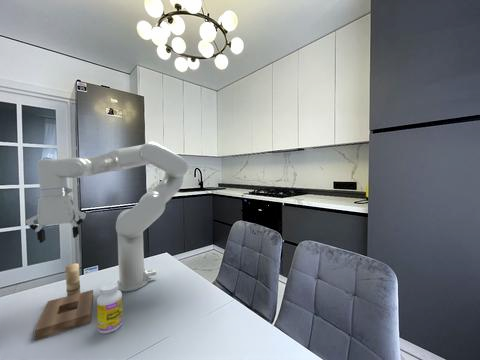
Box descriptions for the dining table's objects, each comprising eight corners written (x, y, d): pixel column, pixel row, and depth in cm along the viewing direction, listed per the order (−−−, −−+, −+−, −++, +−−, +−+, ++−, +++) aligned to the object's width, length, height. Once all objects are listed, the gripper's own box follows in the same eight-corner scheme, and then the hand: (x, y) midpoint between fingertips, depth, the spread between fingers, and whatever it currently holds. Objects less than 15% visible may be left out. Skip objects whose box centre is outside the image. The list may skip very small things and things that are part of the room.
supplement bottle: (105, 338, 62) (102, 294, 61) (93, 329, 66) (91, 288, 65) (127, 323, 68) (125, 283, 67) (116, 316, 71) (114, 278, 71)
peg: (81, 292, 85) (79, 262, 85) (80, 297, 82) (78, 266, 81) (67, 295, 83) (66, 265, 83) (66, 300, 80) (64, 269, 79)
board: (93, 297, 82) (93, 289, 82) (90, 323, 68) (90, 314, 68) (48, 309, 75) (47, 301, 75) (35, 340, 61) (34, 330, 61)
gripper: (85, 189, 85) (89, 232, 86) (28, 194, 78) (33, 240, 79) (81, 191, 78) (85, 237, 80) (17, 196, 71) (23, 247, 72)
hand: (59, 239), depth 79 cm, fingers open, 9 cm apart
